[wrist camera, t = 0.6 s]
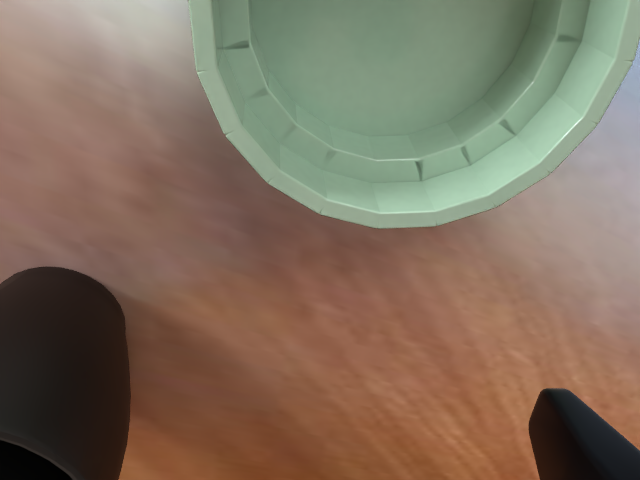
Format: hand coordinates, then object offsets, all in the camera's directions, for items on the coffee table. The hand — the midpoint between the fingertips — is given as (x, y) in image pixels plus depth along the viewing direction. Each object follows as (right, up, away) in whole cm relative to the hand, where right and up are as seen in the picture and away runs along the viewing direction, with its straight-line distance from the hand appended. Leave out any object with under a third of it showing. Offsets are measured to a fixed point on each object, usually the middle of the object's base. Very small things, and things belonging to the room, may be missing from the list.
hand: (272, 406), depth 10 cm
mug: (-10, -2, +18) cm, 20 cm away
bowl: (+3, +11, +11) cm, 15 cm away
